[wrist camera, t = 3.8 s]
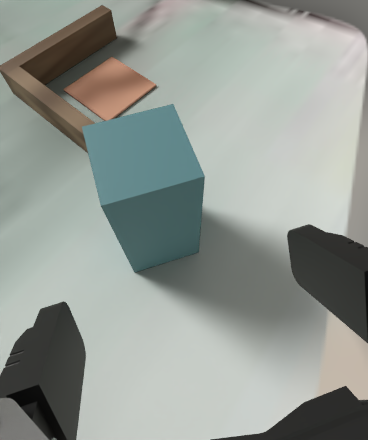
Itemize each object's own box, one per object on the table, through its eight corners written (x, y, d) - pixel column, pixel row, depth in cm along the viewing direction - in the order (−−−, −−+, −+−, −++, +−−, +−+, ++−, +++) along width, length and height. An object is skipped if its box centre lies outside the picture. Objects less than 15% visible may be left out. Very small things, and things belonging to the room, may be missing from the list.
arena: (193, 84, 32) (194, 57, 29) (98, 161, 28) (88, 138, 25) (108, 32, 36) (102, 5, 33) (13, 93, 32) (-3, 67, 29)
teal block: (134, 272, 23) (100, 205, 14) (119, 215, 25) (81, 126, 16) (198, 252, 24) (204, 176, 15) (178, 198, 26) (172, 104, 17)
